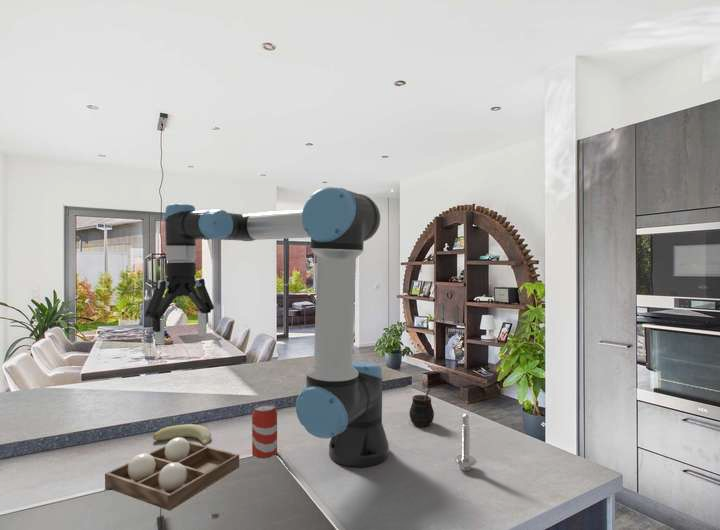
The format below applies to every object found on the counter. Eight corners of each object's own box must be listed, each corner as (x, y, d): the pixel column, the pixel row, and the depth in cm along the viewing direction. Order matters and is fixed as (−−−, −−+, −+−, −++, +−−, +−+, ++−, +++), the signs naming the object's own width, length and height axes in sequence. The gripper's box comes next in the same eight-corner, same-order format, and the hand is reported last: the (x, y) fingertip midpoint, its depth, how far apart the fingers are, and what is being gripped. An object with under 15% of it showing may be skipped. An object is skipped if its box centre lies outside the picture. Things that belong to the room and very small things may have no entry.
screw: (452, 470, 102) (457, 462, 107) (473, 475, 100) (477, 466, 104) (453, 415, 102) (458, 409, 106) (474, 418, 100) (478, 412, 104)
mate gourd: (404, 425, 130) (404, 391, 130) (416, 417, 136) (416, 385, 136) (426, 430, 126) (427, 395, 126) (438, 422, 132) (438, 389, 132)
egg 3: (192, 486, 94) (192, 460, 94) (171, 499, 89) (171, 472, 89) (174, 480, 97) (174, 455, 97) (152, 493, 92) (152, 466, 92)
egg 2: (194, 458, 107) (194, 436, 107) (176, 468, 102) (175, 445, 102) (178, 454, 110) (178, 432, 109) (159, 463, 105) (159, 440, 104)
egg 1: (161, 476, 98) (161, 451, 98) (139, 488, 93) (139, 462, 93) (144, 471, 101) (144, 447, 101) (122, 482, 96) (121, 457, 96)
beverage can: (262, 462, 106) (261, 413, 106) (247, 454, 111) (247, 407, 110) (282, 454, 111) (282, 407, 110) (267, 446, 115) (267, 401, 115)
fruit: (166, 433, 125) (166, 421, 125) (217, 435, 123) (217, 423, 123) (151, 444, 118) (151, 431, 118) (206, 446, 116) (205, 433, 116)
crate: (239, 467, 104) (239, 454, 104) (169, 510, 86) (169, 495, 86) (179, 450, 113) (179, 439, 113) (105, 487, 95) (104, 473, 95)
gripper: (208, 261, 132) (208, 331, 132) (128, 262, 110) (130, 346, 111) (225, 261, 128) (226, 333, 129) (147, 262, 107) (148, 349, 107)
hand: (182, 339), depth 120 cm, fingers open, 13 cm apart
